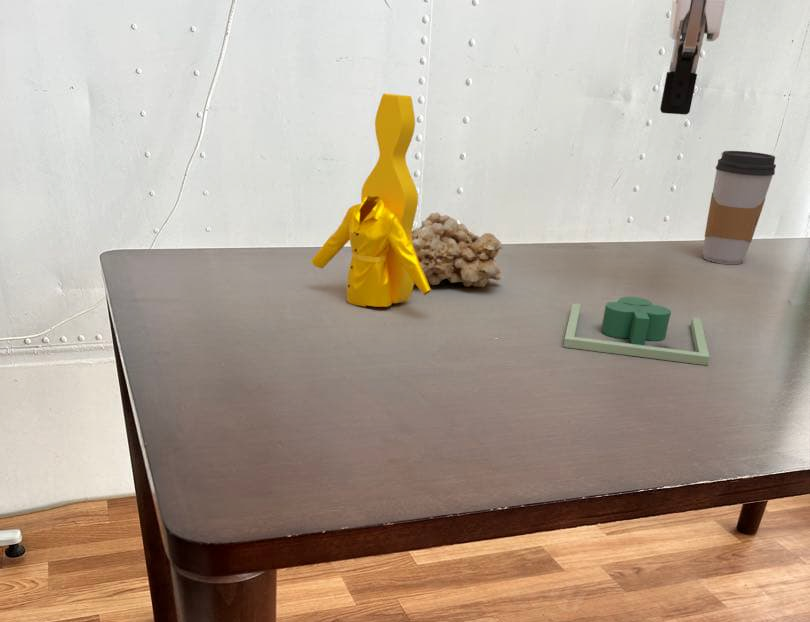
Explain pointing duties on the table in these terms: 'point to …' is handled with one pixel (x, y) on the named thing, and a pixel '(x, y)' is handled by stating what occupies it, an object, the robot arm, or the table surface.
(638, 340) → the club
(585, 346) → the pocket
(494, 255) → the mineral formation
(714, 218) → the coffee cup
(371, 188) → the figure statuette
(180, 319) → the table surface
